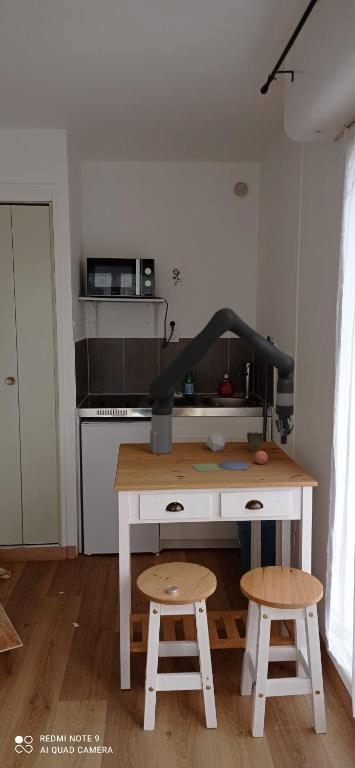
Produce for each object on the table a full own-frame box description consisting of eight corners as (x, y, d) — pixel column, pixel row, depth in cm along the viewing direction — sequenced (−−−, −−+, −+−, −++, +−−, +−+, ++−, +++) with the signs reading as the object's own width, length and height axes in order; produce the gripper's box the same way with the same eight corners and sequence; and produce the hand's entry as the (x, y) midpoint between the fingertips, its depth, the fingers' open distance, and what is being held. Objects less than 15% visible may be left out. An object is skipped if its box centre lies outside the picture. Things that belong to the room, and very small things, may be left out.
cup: (262, 452, 261) (262, 435, 260) (245, 451, 263) (246, 434, 262) (263, 449, 268) (263, 432, 267) (247, 448, 270) (247, 431, 269)
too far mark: (198, 471, 230) (198, 471, 230) (191, 465, 239) (191, 464, 239) (222, 469, 232) (222, 469, 232) (214, 463, 242) (214, 463, 242)
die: (218, 448, 271) (206, 432, 270) (232, 441, 267) (220, 425, 265) (212, 458, 265) (199, 441, 263) (226, 451, 260) (214, 435, 258)
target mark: (225, 470, 231) (225, 470, 231) (213, 462, 243) (213, 462, 243) (255, 468, 235) (255, 468, 235) (242, 460, 247) (242, 460, 247)
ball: (257, 465, 239) (257, 452, 238) (252, 462, 244) (252, 449, 244) (269, 465, 241) (270, 452, 240) (264, 461, 246) (264, 449, 245)
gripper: (269, 401, 247) (268, 441, 250) (283, 406, 235) (282, 448, 237) (285, 400, 249) (284, 440, 252) (300, 405, 237) (299, 447, 239)
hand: (283, 443), depth 244 cm, fingers closed
